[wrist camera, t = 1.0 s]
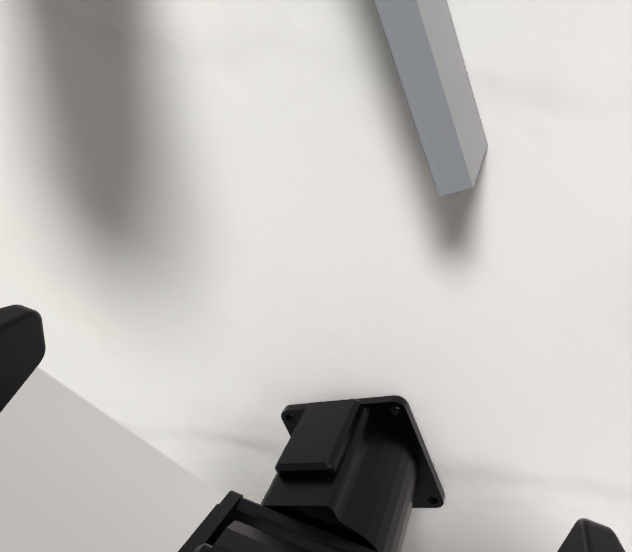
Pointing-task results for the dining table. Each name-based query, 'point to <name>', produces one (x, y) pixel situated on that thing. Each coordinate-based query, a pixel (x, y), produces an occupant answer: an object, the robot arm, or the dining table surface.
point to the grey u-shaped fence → (436, 89)
